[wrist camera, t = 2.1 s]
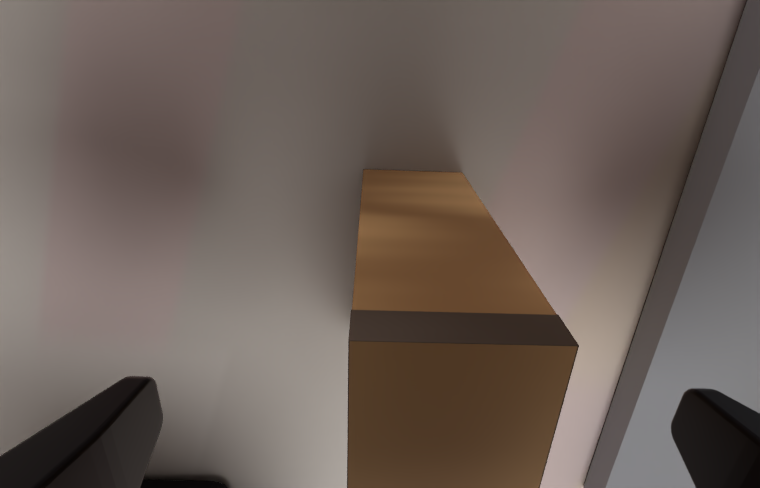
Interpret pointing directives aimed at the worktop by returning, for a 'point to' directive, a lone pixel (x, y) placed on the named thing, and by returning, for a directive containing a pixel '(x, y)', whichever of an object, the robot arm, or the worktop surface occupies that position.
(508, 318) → the wood topped block
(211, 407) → the worktop surface
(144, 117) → the worktop surface
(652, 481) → the grey board with socket
